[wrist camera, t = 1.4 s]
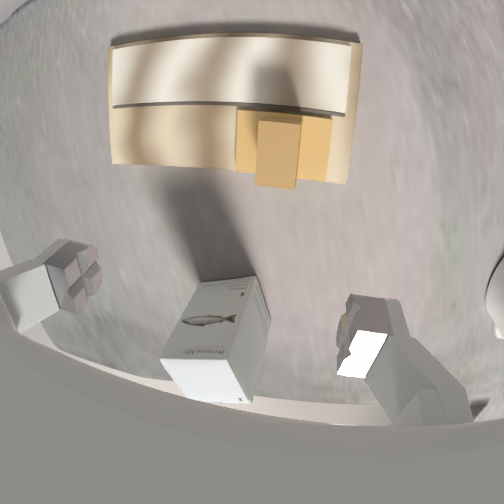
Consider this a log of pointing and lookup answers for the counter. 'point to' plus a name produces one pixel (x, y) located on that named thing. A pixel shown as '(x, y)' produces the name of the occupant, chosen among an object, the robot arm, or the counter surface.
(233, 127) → the board
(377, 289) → the counter surface
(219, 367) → the supplement box
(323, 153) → the stepped wooden block
